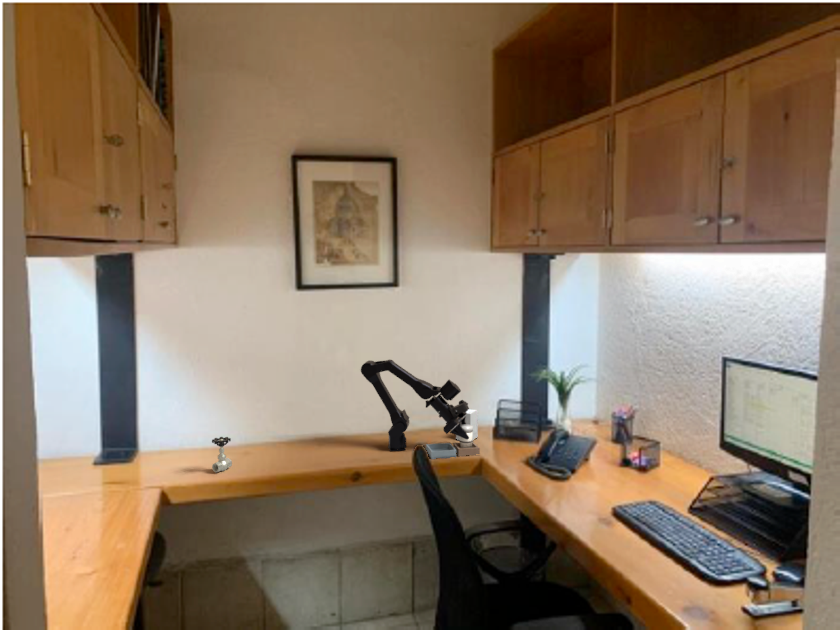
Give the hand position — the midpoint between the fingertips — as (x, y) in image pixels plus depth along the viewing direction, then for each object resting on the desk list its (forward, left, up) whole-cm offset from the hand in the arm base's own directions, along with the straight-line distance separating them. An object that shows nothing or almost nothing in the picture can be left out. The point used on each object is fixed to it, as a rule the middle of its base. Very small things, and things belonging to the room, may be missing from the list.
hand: (469, 436), depth 257 cm
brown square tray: (-1, +1, -7) cm, 7 cm away
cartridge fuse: (-1, +1, -7) cm, 7 cm away
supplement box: (+4, +19, -7) cm, 20 cm away
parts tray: (-12, +1, -7) cm, 13 cm away
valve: (-96, 0, -7) cm, 96 cm away
